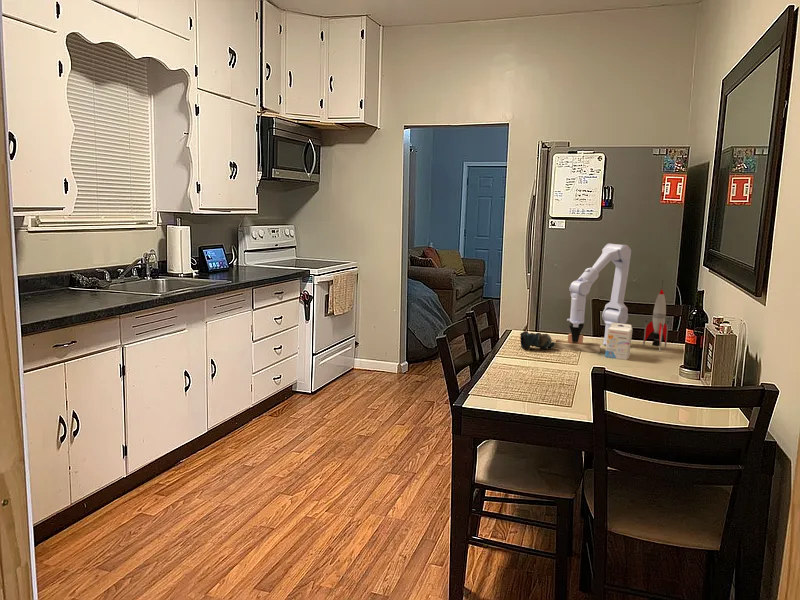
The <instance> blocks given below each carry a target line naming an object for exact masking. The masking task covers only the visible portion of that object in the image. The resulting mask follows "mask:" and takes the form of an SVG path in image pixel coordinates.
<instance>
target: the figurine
mask: <svg viewBox="0 0 800 600" xmlns="http://www.w3.org/2000/svg"><path fill="white" fill-rule="evenodd" d="M519 335H520V336H519V337H520V341H519V342H520V346H521V348H522V349H524V350H525V351H529V350H531V349H530V348H533V347H535V348H539V349H548V350H549V349H550V350H551V349H553V348H552V347H553V346H554V344H555V343H554V342H552V339H553V338H551V335H550V334H548V333H541V332H536V333H534V332H530V333H529V332H528V330H524V331H522V332H520V334H519Z"/></svg>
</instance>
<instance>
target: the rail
mask: <svg viewBox="0 0 800 600" xmlns="http://www.w3.org/2000/svg"><path fill="white" fill-rule="evenodd" d="M551 339H552V342H554V343H555V344H554V346H553V347H552V348H551V349H555V350H564V349H565V350H567V351H577V352H583V353H584V352H585V353H593V354H595V353H597V354H600V352H601V343H597V342H585V341H583V343H582V344H579V343H577V342H572V343H569V342H568V339H558V338H557V339H556V338H555V339H554V338H551Z"/></svg>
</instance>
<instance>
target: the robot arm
mask: <svg viewBox="0 0 800 600" xmlns="http://www.w3.org/2000/svg"><path fill="white" fill-rule="evenodd" d="M601 251H602V252H601V255H600V256H599V257H598V258H597V259H596V261H595V262H594V263H593V265H592V267H588V268H585V269H584V271H583V273H581V275H580V276H579V277H578V279H576V280H573V281H572V282H571V283H570V285H569V287H568V289H569V292H570V297H571V301H570V315H569V318H567V319H566V321H567V322H570V323H569V325H568V327H569V329H570V330H569V331H570V334H572V341H573V342H578V340H579V336H580V335H581V332H582V330H583V329H584V326H585V324H584V323H585V322H586V321H585V312H586V304H587V303H586V301H587V295H588V294H590V291H591V287H592V285H593V284H594V283H595V282H596V280H597V279H598V278H599V275H600V274H599V273H600V272H601V271H602V270H603V269H604V268H605V267H606V266H607V265H608V264H609V263H610V262H612V263H613V264H614V265H615V270H614V276H613V280H612V281H613V283H612V289H611V296H610V301H609V302H607V303H606V304H605V306H604V309H603V311H602V314H601V317H602V321H604V324H605V329H604V336H603V337H604V338H603V340H602V345H604V346H606V343H607V333H608V328H609V327H610V326H611V323H612V322H613V323H621V324H627V322H628V320H629V315H628V314H629V313H628V311H629V309H628V307H627V306H626V305H625V303H624V300H625V296H626V295H625V294H626V290H627V289H626V288H627V284H628V283H627V282H628V277H629V271H630V270H629V269H630V265H631V264H630V263H631V255H632V249H631V248H630V246H629V245H627V244H617V243H610V242H608V243H607V244H606V245H604V247H603V248H602V249H601ZM618 326H620V327H624V326H623V325H618Z"/></svg>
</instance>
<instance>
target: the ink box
mask: <svg viewBox="0 0 800 600" xmlns="http://www.w3.org/2000/svg"><path fill="white" fill-rule="evenodd" d="M618 325H623V326H624V327H620V326H618ZM632 335H633V328H632V324H628V323H625V324H621V323H613V322H612V323H611V326H610V327H609V328H608V333H607V343H606V345H605V352H604V353H605V355H604V357H605V358H611V359H617V360H624V361H625V360H626V361H627V360H628V359H629V358H630V354H631V346H632V345H631V344H632V337H633V336H632Z"/></svg>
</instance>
